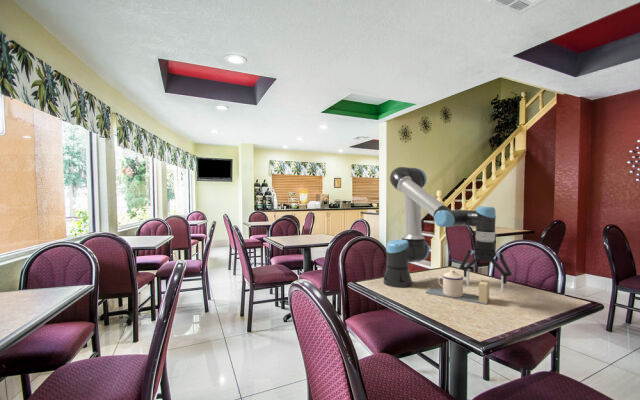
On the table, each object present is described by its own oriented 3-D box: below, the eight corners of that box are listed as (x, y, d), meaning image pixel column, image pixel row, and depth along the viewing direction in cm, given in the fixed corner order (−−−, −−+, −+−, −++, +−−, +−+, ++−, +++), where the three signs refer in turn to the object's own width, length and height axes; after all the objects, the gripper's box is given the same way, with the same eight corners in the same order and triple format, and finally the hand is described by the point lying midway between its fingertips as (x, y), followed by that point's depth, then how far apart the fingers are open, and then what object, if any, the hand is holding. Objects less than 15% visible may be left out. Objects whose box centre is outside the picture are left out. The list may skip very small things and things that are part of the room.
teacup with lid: (467, 295, 134) (467, 270, 134) (456, 299, 129) (456, 273, 129) (444, 288, 144) (444, 266, 144) (433, 292, 139) (433, 268, 139)
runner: (425, 293, 139) (425, 275, 139) (431, 288, 146) (431, 271, 146) (486, 304, 123) (486, 285, 123) (489, 298, 131) (489, 280, 131)
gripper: (453, 238, 132) (452, 283, 132) (518, 245, 117) (517, 295, 117) (457, 237, 138) (456, 280, 138) (519, 242, 123) (518, 291, 123)
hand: (484, 287), depth 128 cm, fingers open, 13 cm apart
